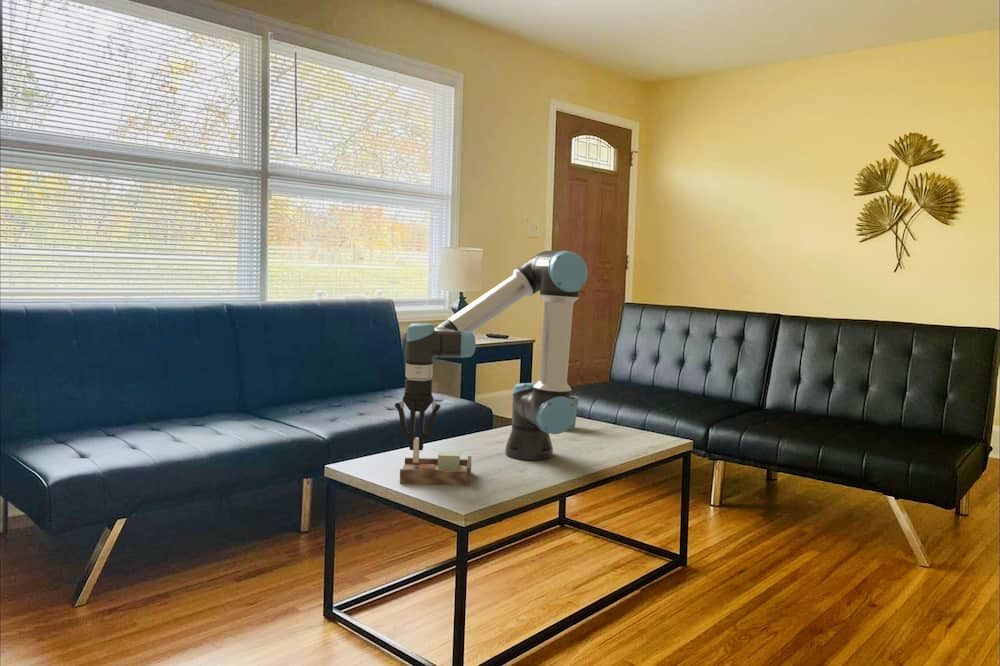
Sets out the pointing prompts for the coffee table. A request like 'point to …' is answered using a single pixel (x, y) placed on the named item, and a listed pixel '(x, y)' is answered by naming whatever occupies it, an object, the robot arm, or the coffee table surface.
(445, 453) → the sage block
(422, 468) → the rust block
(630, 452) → the coffee table surface
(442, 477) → the wooden tray
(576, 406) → the grey-blue cup
